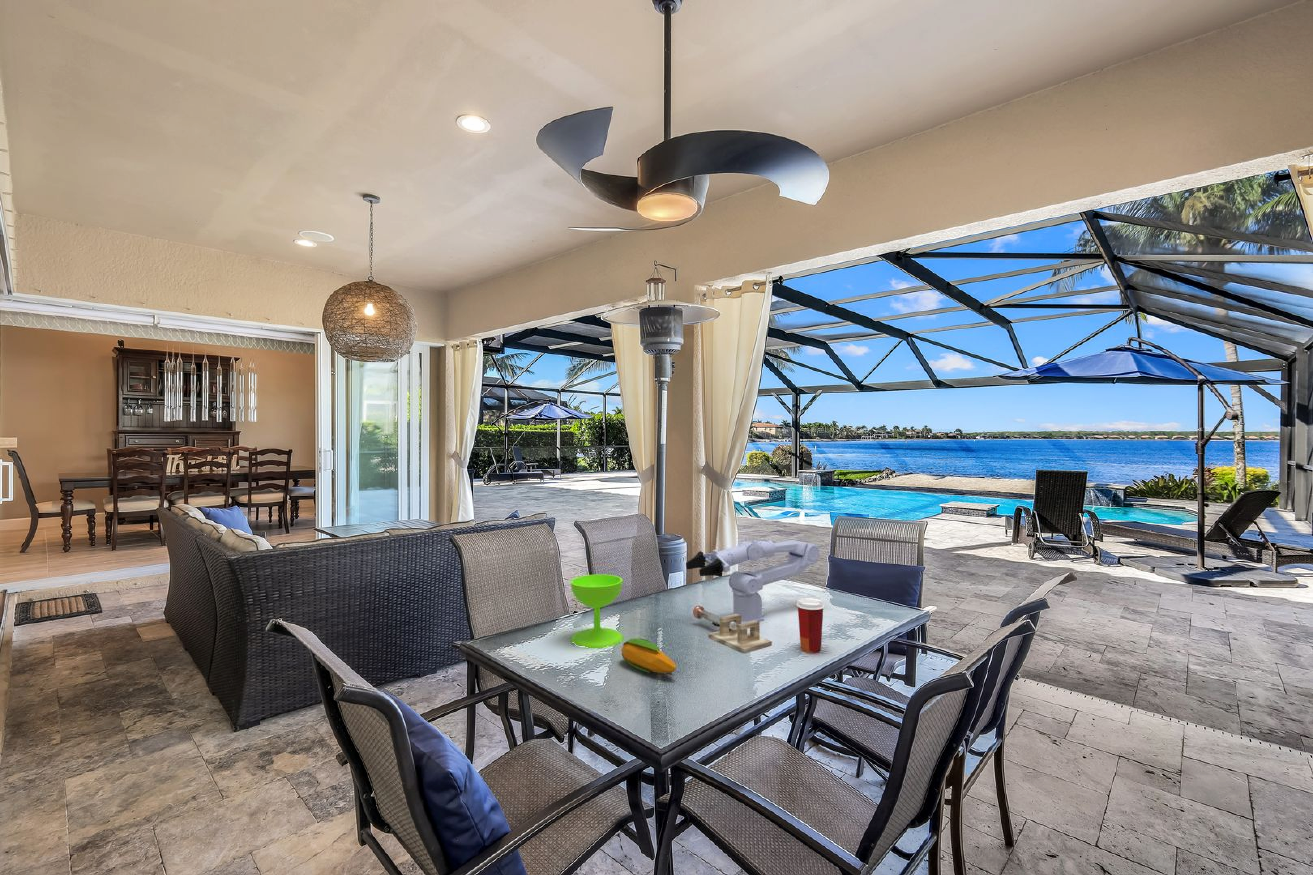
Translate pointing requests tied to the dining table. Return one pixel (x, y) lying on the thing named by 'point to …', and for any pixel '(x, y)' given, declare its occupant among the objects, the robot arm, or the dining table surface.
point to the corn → (646, 656)
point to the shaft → (711, 617)
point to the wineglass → (597, 608)
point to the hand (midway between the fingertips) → (693, 569)
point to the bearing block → (740, 635)
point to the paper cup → (810, 624)
